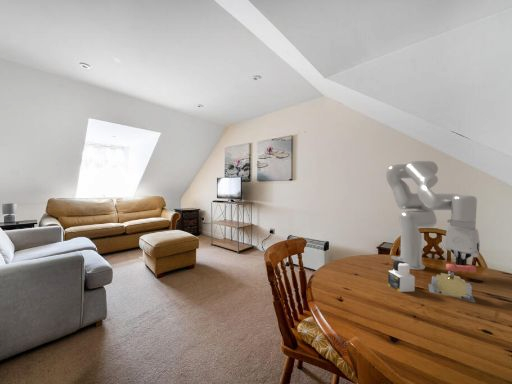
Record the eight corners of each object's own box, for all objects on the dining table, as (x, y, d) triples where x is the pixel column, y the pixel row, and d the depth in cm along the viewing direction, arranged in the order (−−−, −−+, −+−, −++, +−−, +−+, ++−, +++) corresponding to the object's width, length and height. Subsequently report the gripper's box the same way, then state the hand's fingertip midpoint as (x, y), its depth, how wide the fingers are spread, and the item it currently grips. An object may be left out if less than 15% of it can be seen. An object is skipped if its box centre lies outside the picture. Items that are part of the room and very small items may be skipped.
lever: (444, 268, 91) (444, 263, 91) (470, 269, 89) (471, 264, 89) (449, 271, 88) (449, 266, 87) (477, 273, 86) (477, 267, 86)
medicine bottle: (387, 285, 98) (388, 259, 97) (402, 284, 99) (402, 259, 98) (399, 293, 91) (399, 265, 90) (414, 292, 91) (415, 265, 91)
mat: (429, 293, 91) (429, 291, 91) (428, 285, 98) (428, 283, 98) (475, 304, 82) (475, 302, 82) (470, 294, 89) (471, 292, 89)
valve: (432, 292, 90) (432, 269, 90) (431, 286, 95) (432, 265, 95) (471, 301, 83) (472, 277, 83) (468, 294, 88) (469, 271, 88)
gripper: (436, 221, 95) (435, 261, 96) (481, 229, 81) (479, 275, 82) (447, 220, 98) (445, 259, 99) (492, 227, 84) (489, 272, 85)
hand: (460, 266), depth 90 cm, fingers closed
